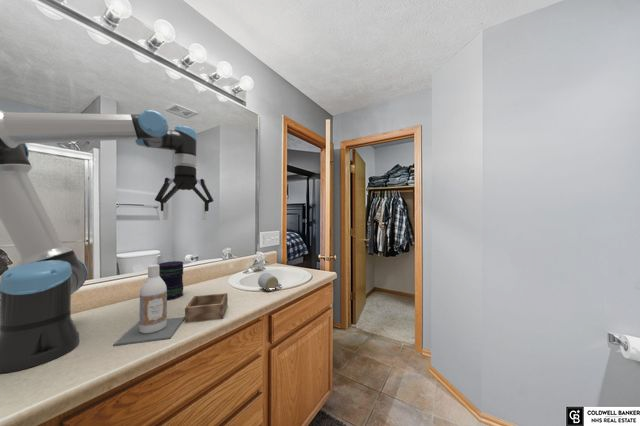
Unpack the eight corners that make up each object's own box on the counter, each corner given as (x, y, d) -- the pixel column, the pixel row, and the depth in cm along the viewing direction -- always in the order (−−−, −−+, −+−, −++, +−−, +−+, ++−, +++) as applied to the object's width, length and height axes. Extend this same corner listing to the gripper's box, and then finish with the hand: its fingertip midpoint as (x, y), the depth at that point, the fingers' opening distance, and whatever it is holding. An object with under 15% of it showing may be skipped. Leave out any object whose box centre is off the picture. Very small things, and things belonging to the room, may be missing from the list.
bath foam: (141, 337, 67) (141, 268, 67) (138, 328, 72) (138, 265, 72) (168, 328, 72) (169, 265, 72) (164, 321, 77) (164, 262, 77)
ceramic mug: (265, 293, 106) (266, 276, 106) (257, 289, 112) (257, 273, 112) (285, 288, 113) (285, 273, 113) (276, 285, 119) (276, 270, 119)
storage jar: (159, 294, 104) (159, 262, 105) (184, 291, 109) (184, 260, 109) (154, 302, 95) (154, 266, 96) (181, 298, 100) (181, 264, 100)
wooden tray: (184, 322, 77) (184, 308, 77) (194, 308, 88) (194, 296, 88) (223, 318, 80) (223, 304, 80) (227, 305, 92) (227, 293, 92)
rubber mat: (113, 346, 63) (113, 344, 63) (138, 323, 77) (138, 321, 77) (170, 338, 67) (170, 337, 67) (185, 318, 80) (185, 316, 80)
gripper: (220, 170, 98) (220, 219, 98) (153, 166, 91) (153, 219, 91) (217, 166, 91) (217, 219, 90) (144, 162, 84) (144, 220, 84)
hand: (185, 219), depth 91 cm, fingers open, 13 cm apart
